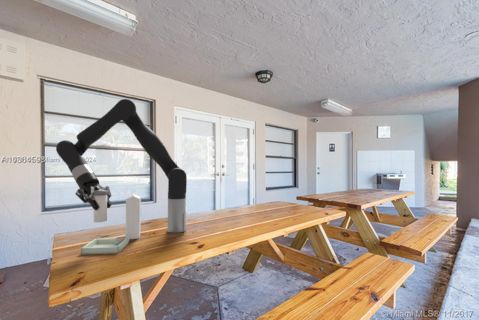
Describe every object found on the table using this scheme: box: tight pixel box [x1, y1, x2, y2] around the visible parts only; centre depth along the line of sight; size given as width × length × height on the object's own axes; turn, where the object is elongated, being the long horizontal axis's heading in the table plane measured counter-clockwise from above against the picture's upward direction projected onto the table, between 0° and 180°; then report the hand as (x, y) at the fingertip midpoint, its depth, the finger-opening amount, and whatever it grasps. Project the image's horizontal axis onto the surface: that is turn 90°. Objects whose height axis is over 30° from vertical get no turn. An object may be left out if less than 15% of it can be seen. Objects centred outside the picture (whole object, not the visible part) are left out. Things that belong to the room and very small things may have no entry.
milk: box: [125, 191, 142, 240], centre depth 118 cm, size 6×6×22 cm
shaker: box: [93, 190, 108, 223], centre depth 101 cm, size 5×5×12 cm
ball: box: [115, 236, 123, 245], centre depth 105 cm, size 3×3×3 cm
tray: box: [80, 237, 130, 256], centre depth 102 cm, size 14×12×2 cm
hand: (103, 207), depth 100 cm, fingers closed on shaker, 4 cm apart
